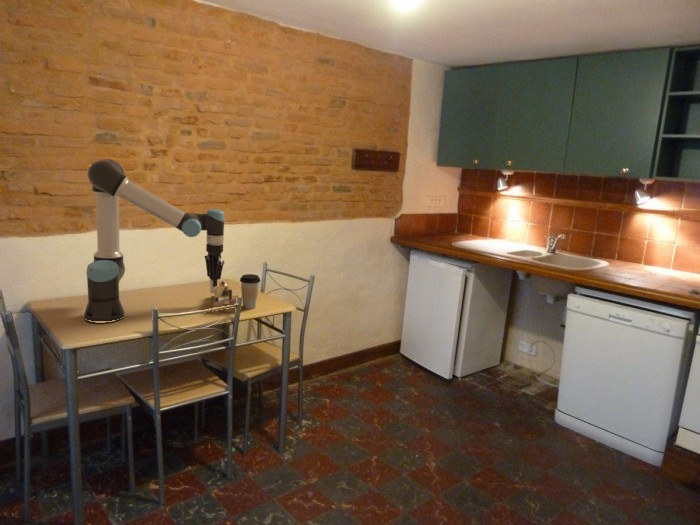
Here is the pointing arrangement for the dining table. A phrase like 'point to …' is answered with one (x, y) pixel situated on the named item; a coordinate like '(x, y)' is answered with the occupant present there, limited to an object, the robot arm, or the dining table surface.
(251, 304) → the coffee cup
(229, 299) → the tan stepped block
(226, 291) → the jamb block
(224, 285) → the latch bar
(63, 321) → the dining table surface
